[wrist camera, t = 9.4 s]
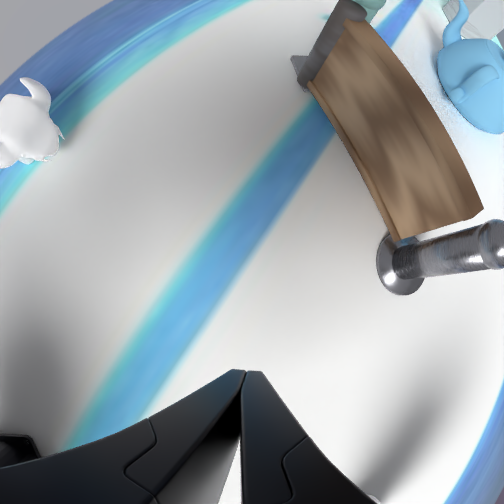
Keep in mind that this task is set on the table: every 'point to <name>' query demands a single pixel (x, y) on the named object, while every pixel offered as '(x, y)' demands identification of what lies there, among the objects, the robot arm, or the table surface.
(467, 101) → the teapot
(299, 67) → the post
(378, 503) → the beer glass
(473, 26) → the supplement box
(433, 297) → the table surface
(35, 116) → the elephant figurine
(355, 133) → the gate
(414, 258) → the hinge post
